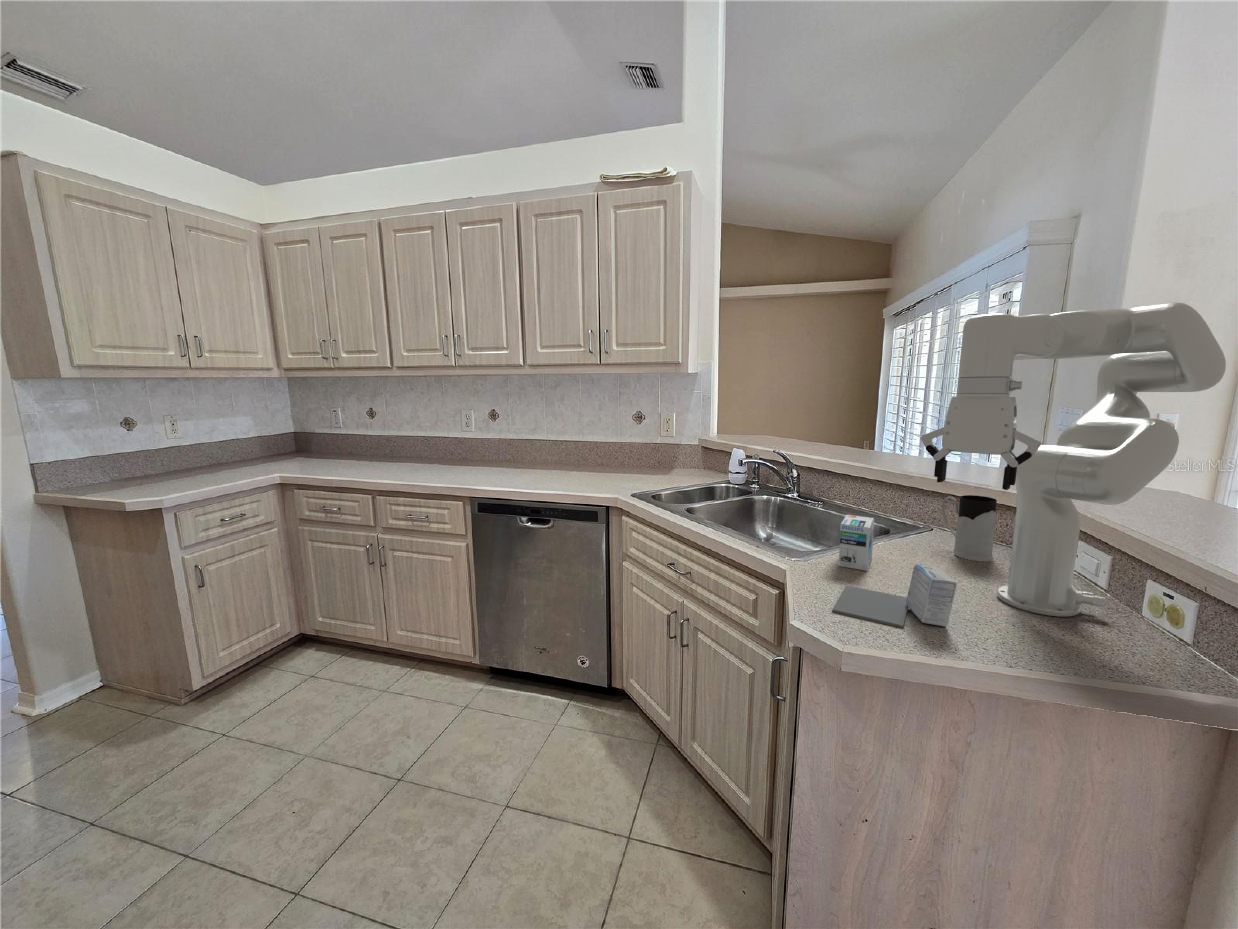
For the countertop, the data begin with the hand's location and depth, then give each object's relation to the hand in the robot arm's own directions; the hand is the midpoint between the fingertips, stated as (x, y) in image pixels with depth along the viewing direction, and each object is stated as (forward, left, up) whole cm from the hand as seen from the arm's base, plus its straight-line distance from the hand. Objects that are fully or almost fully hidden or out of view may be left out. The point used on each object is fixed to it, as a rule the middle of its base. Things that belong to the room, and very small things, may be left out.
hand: (972, 485), depth 88 cm
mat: (+14, +3, -26) cm, 29 cm away
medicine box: (+5, +3, -25) cm, 26 cm away
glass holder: (-1, -45, -26) cm, 52 cm away
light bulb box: (+21, -22, -26) cm, 40 cm away
